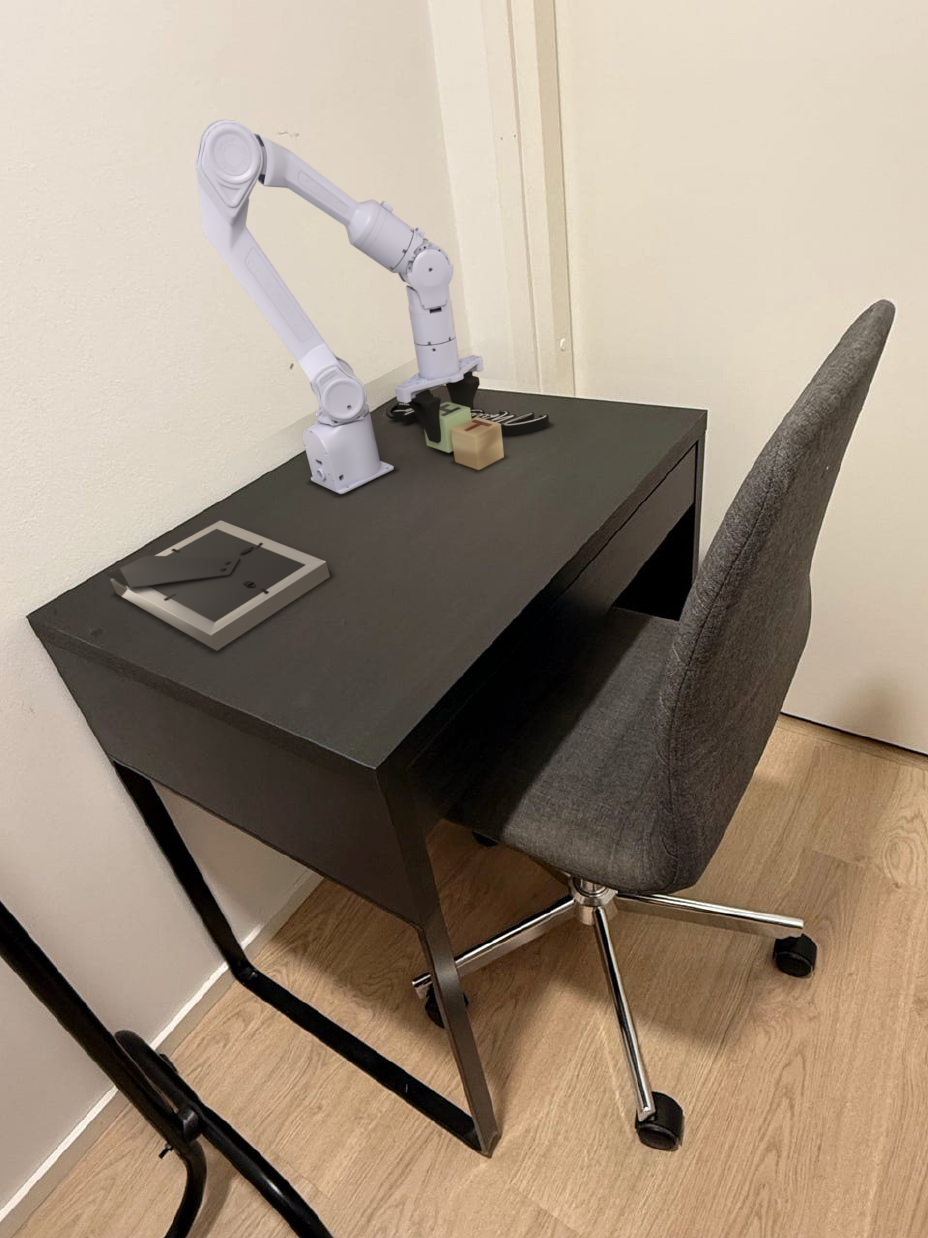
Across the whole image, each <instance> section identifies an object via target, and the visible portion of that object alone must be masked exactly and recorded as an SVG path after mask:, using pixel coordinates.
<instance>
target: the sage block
mask: <svg viewBox="0 0 928 1238" xmlns="http://www.w3.org/2000/svg"><path fill="white" fill-rule="evenodd" d="M439 420H440V429H441V442H439V443H435V442H432V441H429V439H428V437H427V434H426V432H425V430H424V429H423V430H424V431H423V432H424V437H425V442H426V443H425V444H426V446H427V447H430V448H432V449H433V448H434V449H435V450H439V451H442V452H445V453H447V454H451V453H452V452H454V450H453V443H452V436H451V429H452V428H454V427H456V426H458V425H460V424H462V423H464V422H466V421H469V420H471V412H470V408H469V407H465V406H462V405H458V404H454V403H452V402H451V401H445V402H443V403H440V412H439Z"/></svg>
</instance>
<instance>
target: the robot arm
mask: <svg viewBox="0 0 928 1238" xmlns="http://www.w3.org/2000/svg"><path fill="white" fill-rule="evenodd" d="M195 171H196V180H197V192H198V203H199V211H200V212H199V213H200V222H201V228H202V231H203V234H204V236H205V237H206V238H207V240H208V241H209V242H210V244H211V245H212V247H213V248H214V250H215V251H216V252H217V253H218V255H219V257H220V258H221V259H222V260H223V262H224V263H225V264H226V266H227V267H228V269H229V270H230V271H231V273H232V274H233V276H234V277H235V278H236V280H237V282H238V283H239V284H240V285H241V286H242V288H243V289H244V291H245V292H246V293H247V295H248V296H249V298H250V299H251V300H252V302H253V303H254V304H255V306H256V307H257V309H258V310H259V311H260V312H261V314H262V316H263V317H264V318H265V320H266V321H267V322H268V324H269V325H270V327H271V328H272V330H273V331H274V332H275V333H276V334H277V336H278V338H279V339H280V340H281V342H282V343H283V345H284V346H285V347H286V349H287V350H288V351H289V353H290V354H291V355H292V357H293V358H294V360H295V362H297V364H298V365H299V367H300V368H301V369H302V371H303V373H304V375H305V376H306V377H307V379H308V381H309V386H310V389H311V391H312V393H313V394H314V395H315V397H316V399H317V401H318V404H319V405H318V406H319V407H318V409H317V412H316V413H315V416H316V421H315V422H314V423H313V425H310V427H308V428H306V429H305V430H304V431H303V434H302V436H303V437H302V441H303V446H304V449H305V453H306V456H307V460H308V465H309V468H310V471H311V472H310V473H311V475H312V476H311V477H310V480H311V482H313V483H315V484H318V485H319V486H322V487H324V488H326V489H327V490H331V491H333V492H334V493H337V494H339V495H344V494H346V493H348V492H350V491H352V490H354V489H357V488H358V487H361V486H362V485H364V484H367V483H369V482H371V481H373V480H375V479H377V478H379V477H381V476H383V475H385V474H388V473H390V472H392V471H393V470H394V469H395V468H394V465H392V464H390V463H387V462H384V461H382V460H380V455H379V451H378V445H377V440H376V435H375V431H374V425H373V421H372V417H371V411H370V407H369V405H368V403H367V401H368V394H367V389H366V387H365V385H364V384H363V382H362V381H361V380H360V379H359V378H358V377H357V376H356V374H355V372H354V369H353V368H352V366H351V365H350V364H349V362H348V361H346V360H345V359H343V358H341V357H339V356H337V355H336V354H335V353H334V352H333V350H331V348H330V347H329V345H328V344H327V342H326V340H325V339H324V338H323V336H322V335H321V333H320V332H319V330H318V329H317V328H316V327H315V325H314V323H313V322H312V321H311V319H310V317H309V316H308V315H307V313H306V312H305V310H304V309H303V307H302V306H301V305H300V303H299V301H298V300H297V298H296V297H295V295H294V294H293V293H292V292H291V290H290V289H289V287H288V286H287V284H286V283H285V281H284V279H283V278H282V277H281V276H280V274H279V272H278V271H277V270H276V268H275V267H274V265H273V264H272V262H271V261H270V259H269V258H268V257H267V255H266V253H265V252H264V250H263V249H262V248H261V246H260V245H259V243H258V242H257V241H256V239H255V237H254V236H253V235H252V233H251V231H250V230H249V229H248V227H247V219H248V212H249V206H250V196H251V194H252V192H253V190H254V188H255V186H256V184H257V182H259V184H261V185H262V186H264V187H269V188H283V189H289V190H290V191H291V192H293V193H294V194H296V195H298V196H299V197H300V198H302V199H304V200H305V201H307V202H308V203H309V204H311V205H313V206H314V207H315V208H317V209H318V210H320V211H322V212H323V213H324V214H326V215H328V216H329V217H331V218H332V219H333V220H336V222H339V223H340V224H341V225H343V226H344V227H345V231H346V234H347V238H348V242H349V244H350V245H351V246H352V247H354V248H355V249H357V250H358V251H360V252H362V254H364V255H366V256H367V257H368V258H370V259H372V260H373V261H374V262H376V263H377V264H379V265H380V266H381V267H383V268H385V269H386V270H387V271H388V272H390V273H393V274H397V275H398V277H399V278H400V280H401V281H402V282H404V283H406V285H405V290H406V296H407V301H408V306H407V307H408V313H409V317H410V318H409V320H410V326H411V332H412V338H413V345H414V350H415V356H416V357H415V358H416V363H417V370H418V372H417V373H415V374H414V375H413V376H411V377H410V378H408V379H407V380H405V381H404V382H402V383H400V384H399V385H397V386H395V387H394V391H395V396H396V400H397V402H399V403H401V402H404V403H408V404H409V405H410V406H411V408H412V409H413V410H414V412H415V413H416V415H417V416H418V418H419V420H420V421H421V423H422V424H421V423H420V424H421V425H422V427H423V430H425V431H424V433H425V432H426V434H427V437H428V439H429V441H432V442H435V443H439V442H441V429H440V420H439V412H440V405H441V404H442V398H440V397H437V396H434V393H431V392H432V391H433V390H436V389H438V388H440V387H442V386H446V389H447V391H448V394H449V397H450V402H451V403H454V404H458V405H462V406H465V407H469V408H470V412H471V409H472V404H473V405H474V400H475V396H476V394H477V392H478V389H479V387H480V386H481V382H480V377H478V376H475V375H473V373H475V372H477V373H479V372H482V371H484V369H485V368H484V363H483V361H484V359H483V356H481V355H477V354H471V355H468V356H466V357H462V358H460V357H459V350H458V349H459V348H458V342H457V341H458V340H457V334H456V326H455V319H454V311H453V304H452V303H453V302H452V299H451V294H450V286H449V285H450V283H451V281H452V279H453V275H454V264H452V263H451V260H450V259H449V256H448V254H447V252H446V251H445V250H444V249H443V248H442V247H440V246H439V245H437V244H435V243H433V242H431V241H429V239H428V238H426V237H424V236H425V235H426V231H424V230H423V229H421V228H420V227H418V226H417V227H415V228H414V227H412V226H411V225H409V224H408V223H407V222H405V221H404V220H402V218H400V217H398V215H396V214H394V213H393V210H394V206H392V205H391V204H390V203H388V202H387V201H385V200H382V201H381V202H380V203H379V202H378V201H377V200H375V199H367V200H364V201H360V202H358V201H357V200H356V199H354V197H351V196H350V195H349V194H348V193H347V192H345V191H344V190H343V189H341V188H340V187H338V186H337V185H336V184H334V183H333V182H332V181H330V180H329V179H328V178H327V177H325V176H324V175H323V174H322V173H320V172H319V171H318V170H316V169H315V168H314V167H313V166H311V165H310V164H308V162H306V161H304V160H303V159H302V158H301V157H300V156H298V155H297V154H295V153H294V152H293V151H292V150H290V149H288V148H287V147H284V146H282V145H281V144H279V143H278V142H275V141H273V140H271V139H269V138H267V137H265V136H264V135H261V134H260V133H259V134H258V133H254V132H253V131H252V130H251V129H250V128H249V127H247V126H246V125H244V124H243V123H242V122H240V121H236V120H232V119H218V120H215V121H213V122H211V123H209V124H208V125H207V126H206V127H205V128H204V130H203V131H202V133H201V136H200V141H199V145H198V149H197V153H196V159H195ZM407 284H408V285H407Z"/></svg>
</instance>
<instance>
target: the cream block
mask: <svg viewBox="0 0 928 1238" xmlns="http://www.w3.org/2000/svg"><path fill="white" fill-rule="evenodd" d="M451 436H452V443H453V450H454V451H453V456H454V457H453V458H454V462H455V463H457V464H460V465H462V466H466V467H468V468H471V469H474V470H477V471H480V470H482V469H484V468H486V467H488V466H490V465H492V464H494V463H495V462H498V461H499V460H501V459H503V458H505V453H504V444H503V443H504V442H503V435H502V432H501V424H500V423H496V422H493V421H489V420H486V419H482V418H478V417H475V418H473V419H471V420H469V421H466V422H464V423H462V424H460V425H458V426H456V427H454V428H452V429H451Z"/></svg>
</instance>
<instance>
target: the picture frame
mask: <svg viewBox="0 0 928 1238" xmlns="http://www.w3.org/2000/svg"><path fill="white" fill-rule="evenodd" d="M327 564H328V563H327V561H326V560H323V559H320V558H318V557H315V556H312V555H311V554H308V553H305V552H303V551H300V550H297V549H295V548H293V547H290V546H288V545H285V544H282V543H279V542H277V541H275V540H272V539H270V538H267V537H265V536H262V535H259V534H257V533H254V532H252V531H250V530H246V529H244V528H241V527H238V526H237V525H233V524H231V523H229V522H226V521H223V520H218V521H216V522H215V523H213V524H211V525H209V526H207V527H205V528H203V529H201V530H200V531H197V532H196V533H195V534H194V533H193V534H192V535H191V536H188V537H187V538H185V539H183V540H181V541H179V542H177V543H176V544H174V545H171V546H170V547H167V548H166V549H164V550H163V551H161V552H159V553H157V554H155V555H144V556H142V557H140V558H138V559H136V560H134V561H132V562H130V563H128V564H125V565H124V566H122V567H119V568H117V569H115V570H113V571H111V572H109V573H107V577H110V579H109V580H110V583H111V584H112V587H113V589H114V591H115V593H116V595H118V596H120V597H122V598H123V599H125V600H127V601H129V602H130V603H132V604H134V605H136V606H137V607H139V608H141V609H142V610H144V611H146V612H147V613H150V614H151V615H153V616H155V617H156V618H158V619H160V620H162V621H163V622H165V623H167V624H169V625H171V626H172V627H174V628H176V629H177V630H179V631H181V632H183V633H185V634H186V635H188V636H189V637H192V638H193V639H195V640H197V641H198V642H200V643H202V644H204V645H206V646H207V647H209V648H211V649H213V650H215V651H216V652H218V651H219V650H221V649H222V648H224V647H226V646H227V645H229V644H230V643H232V642H233V641H235V640H236V639H238V638H239V637H241V636H242V635H244V634H245V633H247V632H248V631H250V630H251V629H252V628H254V627H256V626H258V625H259V624H260V623H262V622H264V621H265V620H266V619H268V618H270V617H272V615H274V614H276V613H277V612H279V611H280V610H282V609H283V608H284V607H287V606H288V605H290V604H291V603H293V602H294V601H296V600H297V599H299V598H301V596H303V595H305V594H306V593H308V592H310V591H311V590H312V589H314V588H315V587H316V586H318V585H320V584H321V583H323V582H324V581H325V580H327V579H329V578H330V577H331V575H330V571H329V568H328V565H327Z"/></svg>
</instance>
